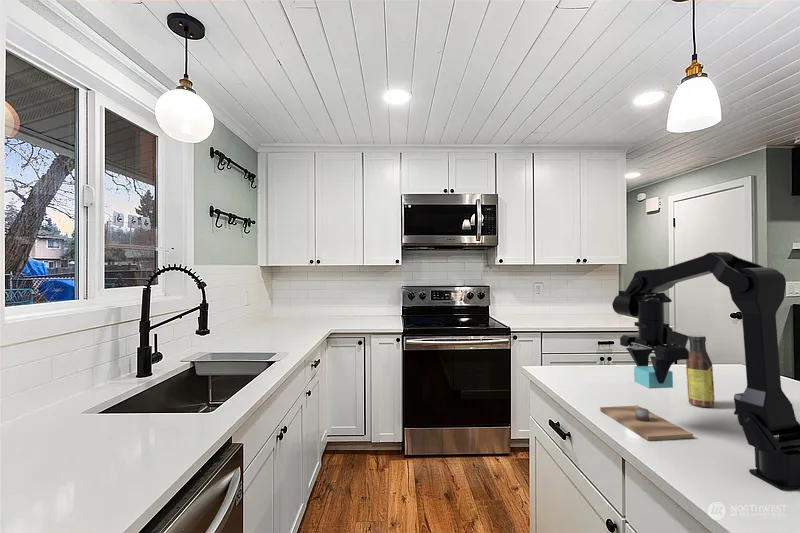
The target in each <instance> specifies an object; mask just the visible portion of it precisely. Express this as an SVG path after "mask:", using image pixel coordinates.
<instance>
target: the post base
mask: <svg viewBox="0 0 800 533" xmlns="http://www.w3.org/2000/svg"><path fill="white" fill-rule="evenodd" d="M599 410H600V412H601V413H603V414H605V415H606V416H608V417H609V418H611V419H612V420H614V421H616V422H617V423H618V424H620V425H622V426H623V427H625V428H626V429H628V430H630V431H632V432H633V433H635V434H636V435H637V436H639V437H641V438H643V439H644V440H646V441H649V442H650V441H652V442H653V441H667V440H669V441H670V440H682V439H681V438H690V439H693V438H694V434H693V433H692V432H690V431H688V430H686V429H684V428H682V427H680V426H678V425H677V424H675V423H672V422H671V421H669V420H667V419H665V418H663V417H661V416H659V415H658V414H655V413H654V412H651V411H649V409H647V408H644V407H641V406H639V405H638V404H636V405H622V406H620V405H617V406H601V407H599ZM692 437H693V438H692Z"/></svg>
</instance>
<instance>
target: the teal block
mask: <svg viewBox="0 0 800 533" xmlns="http://www.w3.org/2000/svg"><path fill="white" fill-rule="evenodd" d="M633 372H634V373H633V374H634V375H633V377H634V379H633V380H634V381H633V382H634V383H637V384H639V385H641V386H643V387H646V388H648V389H650V390H651V389H673V388H674V381H673V380H674V378H673V377H674V376H673V374H674V373H673V371H672V370H669V371H668V373H667V376H666V379H665V381H664V383H663V384H660V383H658V380H657V378H656V374H655V371H654V368H653V365H648V366H637V365H636V366H633Z"/></svg>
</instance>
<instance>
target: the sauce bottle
mask: <svg viewBox="0 0 800 533" xmlns="http://www.w3.org/2000/svg"><path fill="white" fill-rule="evenodd" d="M688 336H689V338H688V341H689V359H686V360H685V364H686V365H685V366H686V367H685V375H686V390H687V398H688V402H689V404H690V405H693V406H695V407H700V408H713V407H714V406H715V387H714V373H713V372H714V371H713V370H714V369H713V363H712V360H711V358H710V356H709V354H708V351H707V347H706V342H707V338H706V336H705V335H703V334H702V335H701V334H689V335H688Z"/></svg>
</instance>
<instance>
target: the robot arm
mask: <svg viewBox="0 0 800 533" xmlns="http://www.w3.org/2000/svg"><path fill="white" fill-rule="evenodd" d="M711 274H712V276H714V278H715V279H716V280H717V281H718V282H719V283H721V284H722V285H724V286H726V288H728V289H729V294H730V297H731V298H730V299H731V300H732V302H733V303H734V305H735V306H736V308H737V309H738V310H739V312H740V313H741V318H742V321H741V322H742V333H743V346H744V347H743V348H744V358H745V359H744V360H745V362H744V363H745V373H746V388H745V390H743V392H740V393H734V396H733V402H734V405H735V407H734V408H735V410H734V412H733V415H735V416H737V420H738V423H739V426H740V427H741V429H742V431H743V433H744V436H745V438H746V440H747V441H746V442H747V443H748V445H749V446H752V447H754V461H755V462H754V463H755V464H754V466H755V468H750V469H748V472H749V473H750V474H752V475H754V476H755V477H757V478H759V479H761V480H763V481H764V482H766V483H768V484H770V485H772V486H773V487H776V488H778V489H779V490H796V489H800V422H799V421H798V420H797V416H796V414H795V410H794V406H793V403H792V402H791V401H790V399H789V398H788V397H787V395H786V394H785V392H784V391H783V389H782V382H781V368H780V355H779V353H780V352H779V342H778V341H779V340H778V329H777V317H776V315H777V312H778V310H779V308H780V306H781V305H782V304H783V301H784V299H785V293H786V284H787V282H786V278H785V275H784V274H783V273H781V272H780V271H779V270H777V269H776V268H773V267H767V266H766V267H764V266H763V265H761V264H759V263H756V262H752V261H749V260H745V259H743V258H740V257H738V256H737V255H735V254H733V253H730V252H728V251H713V252H712V251H711V252H707V253H706V254H704V255H702V256H698V257H695V258H692V259H688V260H685V261H682V262H680V263H676V264H674V265H670V266H667V267H664V268H655V269H654V268H653V269H645V270H637V271H635V272H634V274H633V277H632V279H631V280H630V282H629V284H628V286H627V288H626V289H625V290H618V295H616V296H615V297H614V299H613V302H612V308H613V310H614V312H615V313H616V314H617V315H621V316H628V317H634V318H637V321H634V327H636V328H637V327H638V330H637V331H638V334H622V336H620V339H619V345H620V346H623V347H626V351H627V352H628V353H629V355H630V356H631V358H632V360H633V361H634V363H635V365H636V366H649V360H651V364H652V365H651V366H653V368H654V371H655V374H656V378H657V380H658V383H660V384H663V383H664V381H665V379H666V376H667V373H668V371H670V370H671V369H670V368H671V366H672V365H673V364H674V363H675V362H676V361H677V362H678V361H681V360H684V361H686V359H689V352H690V349H688V348H687V344H688V341H689V335H686V334H684V333H681V332H679V331H674V330H673V328H672V327H670V324H669V323H667V322H665V303H672V299H671V297H669V296H667V294H665V292H666V291H667V290H669V289H672V288H673V287H674V286H675V285H676V284H677V283H682V282H685V281H688V280H691V279H695V278H699V277H702V276H707V275H711ZM652 352H653V354H654V355H655V356H654V355H653V356H652V355H651V354H652ZM650 355H651V356H650ZM649 357H650V359H649Z"/></svg>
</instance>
